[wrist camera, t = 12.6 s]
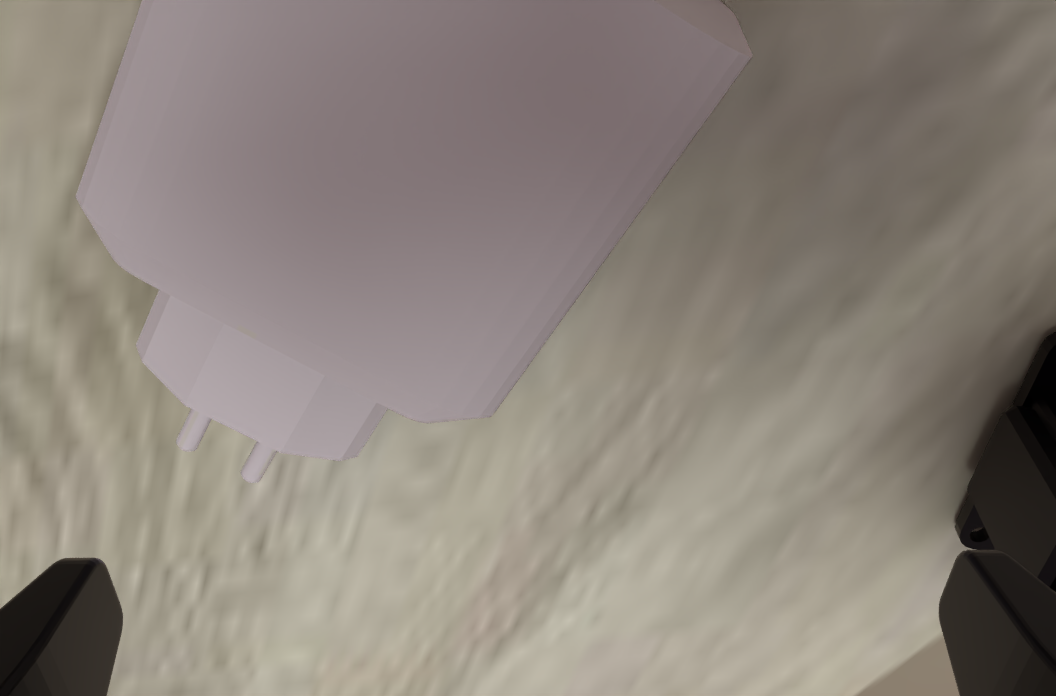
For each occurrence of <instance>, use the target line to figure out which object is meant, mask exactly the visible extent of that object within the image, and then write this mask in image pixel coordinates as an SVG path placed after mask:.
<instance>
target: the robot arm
mask: <svg viewBox="0 0 1056 696" xmlns="http://www.w3.org/2000/svg"><path fill="white" fill-rule="evenodd" d="M967 490H968V493H969V496H968V498H967V500H966V502H965V504H964V506H963V508H962V510H961V512H960V514H959V516H958V518H957V521H956V524H955V529H956V531H957V534H958V536H959V538H960V541H961V543H962V544H963V545H965V546H966V547H968V548H972V549H977V550H966V551H963V552H962V553H960V554H959V555H958V556H957V558H956V560H955V563H954V565H953V568H952V570H951V573H950V576H949V578H948V581H947V583H946V586H945V588H944V591H943V593H942V596H941V599H940V603H939V620H940V625H941V628H942V632H943V636H944V639H945V643H946V646H947V650H948V654H949V658H950V661H951V665H952V669H953V673H954V676H955V680H956V683H957V687H958V691H959V695H960V696H1056V332H1054V333H1052V334H1051V335H1049V336H1048V337H1047V338H1046V339H1045V340H1044V341H1043V343H1042V344H1041V346H1040V348H1039V350H1038V352H1037V354H1036V356H1035V359H1034V361H1033V363H1032V365H1031V367H1030V369H1029V371H1028V373H1027V375H1026V377H1025V379H1024V381H1023V383H1022V386H1021V388H1020V390H1019V392H1018V394H1017V396H1016V398H1015V400H1014V402H1013V404H1012V406H1011V407H1009V408H1008V409H1007V410H1006V411H1005V412H1003V414H1002V416H1001V418H1000V420H999V422H998V424H997V426H996V428H995V430H994V432H993V434H992V437H991V439H990V441H989V443H988V445H987V447H986V449H985V451H984V453H983V455H982V457H981V460H980V462H979V464H978V466H977V468H976V470H975V472H974V474H973V476H972V478H971V480H970V483H969V485H968V488H967ZM981 527H983V529H981V530H979V531H973V530H974V529H976V528H981ZM972 531H973V532H972ZM122 626H123V613H122V608H121V605H120V602H119V599H118V597H117V594H116V591H115V588H114V586H113V583H112V580H111V577H110V575H109V572H108V569H107V567H106V565H105V563H104V562H103V561H102V560H100V559H98V558H64V559H61V560H59V561H57V562H55V563H54V564H52V565H51V566H50V567H49V568H48V569H46V570H45V571H44V572H43V573H42V574H41V575H39V576H38V577H37V578H36V579H35V580H33V581H32V582H31V583H30V584H29V585H28V586H26V587H25V588H24V589H23V590H22V591H21V592H19V593H18V594H17V595H16V596H15V597H14V598H12V599H11V600H10V601H9V602H8V603H6V604H5V605H4V606H3V607H2V608H1V609H0V696H107V692H108V688H109V684H110V679H111V675H112V671H113V667H114V662H115V658H116V654H117V650H118V646H119V641H120V637H121V633H122Z"/></svg>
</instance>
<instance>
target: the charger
mask: <svg viewBox="0 0 1056 696" xmlns="http://www.w3.org/2000/svg"><path fill="white" fill-rule="evenodd" d="M752 56H753V55H752V52H751V50H750V48H749V45H748V43H747V41H746V38H745V36H744V34H743V31H742V29H741V27H740V24H739V22H738V20H737V18H736V15H735V14H734V13H733V12H732V11H731V10H730V9H729V8H728V7H727V6H726V5H724V4H723V3H722V2H721V1H720V0H142V2H141V5H140V8H139V11H138V14H137V17H136V20H135V23H134V26H133V29H132V32H131V35H130V38H129V41H128V43H127V46H126V49H125V52H124V55H123V58H122V61H121V64H120V67H119V70H118V73H117V76H116V79H115V82H114V85H113V88H112V91H111V94H110V97H109V100H108V102H107V105H106V108H105V111H104V114H103V117H102V120H101V123H100V126H99V129H98V132H97V135H96V138H95V141H94V144H93V147H92V150H91V153H90V156H89V159H88V162H87V164H86V167H85V170H84V173H83V176H82V179H81V182H80V185H79V188H78V191H77V194H76V199H77V200H78V202H79V204H80V206H81V208H82V210H83V211H84V213H85V215H86V216H87V218H88V219H89V221H90V223H91V224H92V226H93V227H94V229H95V231H96V232H97V234H98V235H99V237H100V239H101V240H102V242H103V244H104V245H105V247H106V248H107V250H108V252H109V253H110V255H111V256H112V258H113V260H114V261H115V262H116V263H117V264H118V265H119V266H120V267H122V268H123V269H124V270H126V271H127V272H128V273H130V274H132V275H133V276H135V277H137V278H139V279H140V280H142V281H144V282H146V283H148V284H149V285H151V286H153V287H155V288H157V289H159V291H158V294H157V296H156V298H155V301H154V303H153V306H152V308H151V310H150V313H149V315H148V317H147V320H146V322H145V325H144V327H143V329H142V332H141V334H140V336H139V339H138V341H137V344H136V347H137V350H138V352H139V355H140V358H141V360H142V362H143V363H144V364H145V365H146V366H147V367H148V368H149V369H150V370H151V372H152V373H153V374H154V375H155V376H156V377H157V378H158V379H159V380H160V381H161V382H162V383H163V384H164V385H165V386H166V387H167V388H168V389H169V390H170V391H171V392H172V393H173V394H174V395H175V396H176V397H177V398H178V399H179V400H180V401H181V402H182V403H183V404H184V405H185V406H187V407H189V408H191V410H190V413H189V415H188V417H187V419H186V421H185V423H184V425H183V427H182V429H181V431H180V433H179V435H178V437H177V439H176V443H177V445H178V446H179V448H180V449H181V450H183V451H195V450H196V449H197V447H198V445H199V443H200V441H201V439H202V437H203V435H204V433H205V431H206V429H207V427H208V425H209V423H210V421H211V419H213V420H215V421H217V422H219V423H221V424H223V425H225V426H227V427H229V428H231V429H233V430H235V431H237V432H239V433H241V434H243V435H245V436H247V437H249V438H252V439H254V440H256V441H257V442H256V444H255V446H254V448H253V450H252V452H251V453H250V455H249V457H248V459H247V461H246V462H245V464H244V466H243V468H242V470H241V475H242V477H243V478H244V480H246V481H247V482H250V483H256V482H259V481H260V480H261V478H262V476H263V475H264V473H265V471H266V469H267V468H268V466H269V464H270V462H271V461H272V459H273V457H274V455H275V454H276V452H277V451H278V452H280V453H285V454H292V455H300V456H307V457H314V458H322V459H329V460H337V461H342V460H346V459H350V458H354V457H357V456H358V455H359V453H360V452H361V450H362V448H363V447H364V445H365V444H366V442H367V441H368V439H369V437H370V436H371V434H372V433H373V431H374V430H375V428H376V426H377V425H378V423H379V422H380V420H381V419H382V417H383V415H384V414H385V412H386V411H387V409H390V410H392V411H394V412H396V413H398V414H400V415H402V416H405V417H407V418H409V419H412V420H415V421H418V422H423V423H434V422H445V421H455V420H465V419H476V418H485V417H491V416H492V415H493V414H494V412H495V411H496V410H497V409H498V407H499V406H500V404H501V403H502V402H503V400H504V399H505V398H506V396H507V395H508V393H509V392H510V391H511V389H512V388H513V387H514V385H515V384H516V382H517V381H518V380H519V378H520V377H521V375H522V374H523V373H524V371H525V370H526V369H527V367H528V366H529V364H530V363H531V362H532V360H533V359H534V357H535V356H536V355H537V353H538V352H539V351H540V349H541V348H542V346H543V345H544V344H545V342H546V341H547V340H548V338H549V337H550V335H551V334H552V333H553V331H554V330H555V328H556V327H557V326H558V324H559V323H560V322H561V320H562V319H563V317H564V316H565V315H566V313H567V312H568V310H569V309H570V308H571V306H572V305H573V304H574V302H575V301H576V299H577V298H578V297H579V295H580V294H581V293H582V291H583V290H584V288H585V287H586V286H587V284H588V283H589V281H590V280H591V279H592V277H593V276H594V275H595V273H596V272H597V270H598V269H599V268H600V266H601V265H602V263H603V262H604V261H605V259H606V258H607V257H608V255H609V254H610V252H611V251H612V250H613V248H614V247H615V246H616V244H617V243H618V241H619V240H620V239H621V237H622V236H623V234H624V233H625V232H626V230H627V229H628V228H629V226H630V225H631V223H632V222H633V221H634V219H635V218H636V216H637V215H638V214H639V212H640V211H641V210H642V208H643V207H644V205H645V204H646V203H647V201H648V200H649V199H650V197H651V196H652V194H653V193H654V192H655V190H656V189H657V187H658V186H659V185H660V183H661V182H662V181H663V179H664V178H665V176H666V175H667V174H668V172H669V171H670V169H671V168H672V167H673V165H674V164H675V163H676V161H677V160H678V158H679V157H680V156H681V154H682V153H683V151H684V150H685V149H686V147H687V146H688V145H689V143H690V142H691V140H692V139H693V138H694V136H695V135H696V134H697V132H698V131H699V129H700V128H701V127H702V125H703V124H704V122H705V121H706V120H707V118H708V117H709V116H710V114H711V113H712V111H713V110H714V109H715V107H716V106H717V104H718V103H719V102H720V100H721V99H722V98H723V96H724V95H725V93H726V92H727V91H728V89H729V88H730V87H731V85H732V84H733V82H734V81H735V80H736V78H737V77H738V75H739V74H740V73H741V71H742V70H743V69H744V67H745V66H746V64H747V63H748V62H749V60H750V59H751V57H752Z"/></svg>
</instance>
